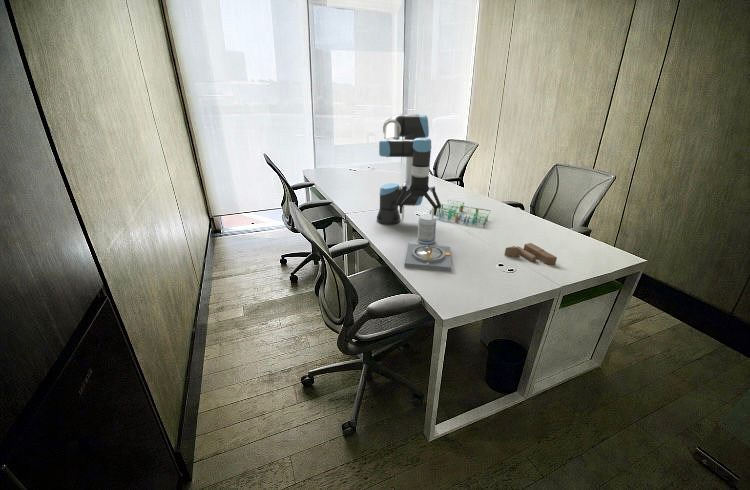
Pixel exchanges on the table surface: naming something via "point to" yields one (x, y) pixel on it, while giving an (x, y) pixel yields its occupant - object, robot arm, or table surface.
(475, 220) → the house model
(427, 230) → the supplement tub
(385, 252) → the table surface
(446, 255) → the dial plate
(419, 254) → the dial
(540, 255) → the wooden block set
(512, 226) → the table surface
